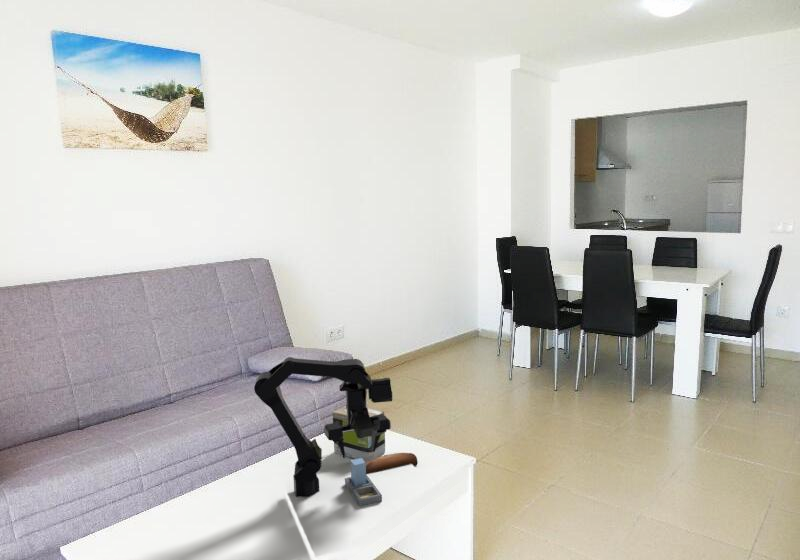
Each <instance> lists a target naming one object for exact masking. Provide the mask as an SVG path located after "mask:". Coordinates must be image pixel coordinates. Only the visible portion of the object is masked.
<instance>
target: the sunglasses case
mask: <svg viewBox="0 0 800 560" xmlns="http://www.w3.org/2000/svg"><path fill="white" fill-rule="evenodd" d="M365 463H366V475H368V474H373V473H377V472H383V471H385V470H390V469H393V468H397V467H402V466H403V467H404V466H407V465H418V458H417V456H416V454H415V453H412V452H395V453H389V454H384V455H380V456H379V457H377V458H375V459H373V460H370V461H367V462H365Z"/></svg>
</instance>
